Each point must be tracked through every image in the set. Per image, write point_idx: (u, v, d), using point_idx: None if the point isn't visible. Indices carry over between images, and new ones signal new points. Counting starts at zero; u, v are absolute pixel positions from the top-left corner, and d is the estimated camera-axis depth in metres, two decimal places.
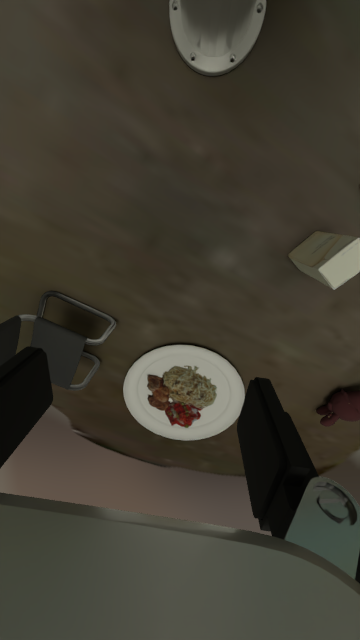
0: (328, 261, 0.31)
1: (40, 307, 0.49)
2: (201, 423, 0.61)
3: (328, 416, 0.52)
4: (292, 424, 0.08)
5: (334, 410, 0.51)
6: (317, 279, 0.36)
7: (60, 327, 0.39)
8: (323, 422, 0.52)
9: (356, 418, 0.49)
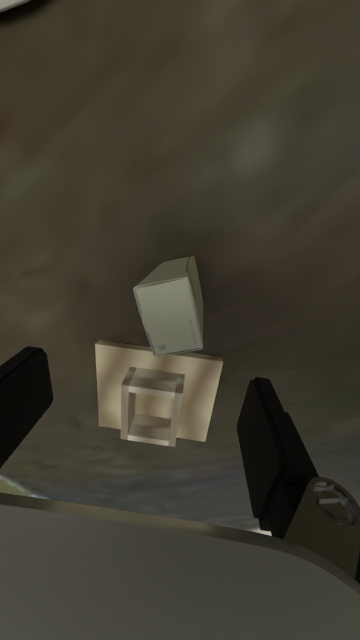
0: (190, 297, 0.17)
1: None
2: None
3: None
4: (292, 424, 0.08)
5: None
6: (151, 274, 0.21)
7: None
8: None
9: None
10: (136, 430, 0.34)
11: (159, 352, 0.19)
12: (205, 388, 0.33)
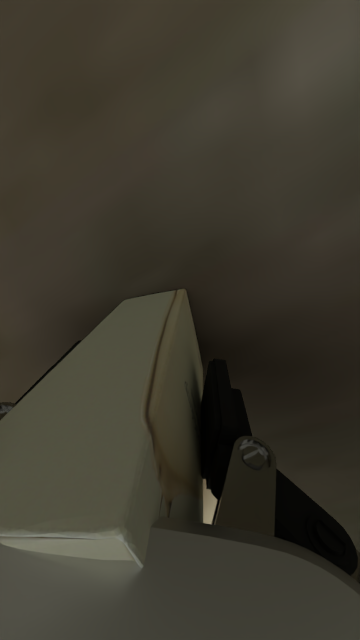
0: None
1: None
2: None
3: None
4: (242, 399, 0.09)
5: None
6: (61, 368, 0.07)
7: None
8: None
9: None
10: None
11: None
12: (206, 497, 0.20)
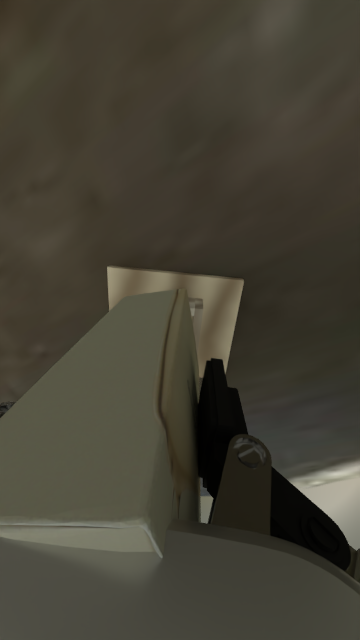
0: None
1: None
2: None
3: None
4: (238, 398, 0.09)
5: None
6: (66, 362, 0.07)
7: None
8: None
9: None
10: None
11: None
12: (224, 314, 0.31)
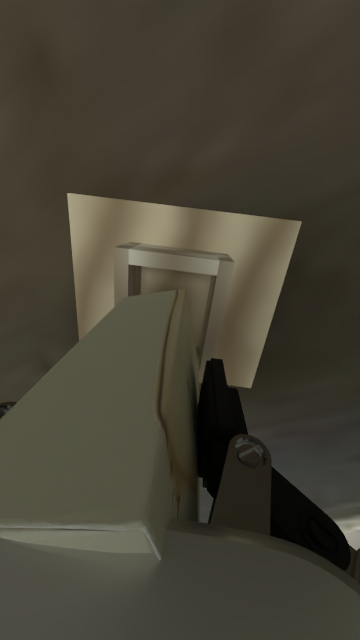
0: None
1: None
2: None
3: None
4: (238, 398, 0.09)
5: None
6: (65, 363, 0.07)
7: None
8: None
9: None
10: None
11: None
12: (262, 283, 0.19)
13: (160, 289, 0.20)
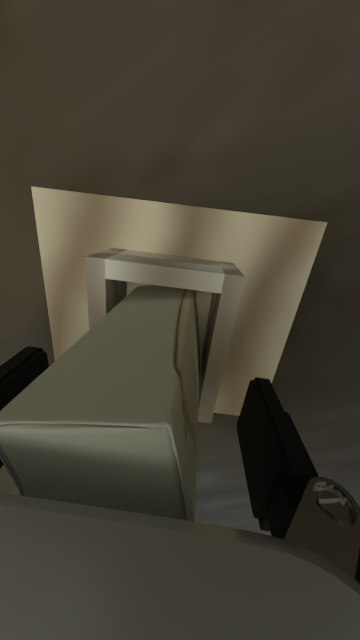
0: (175, 473, 0.05)
1: None
2: None
3: None
4: (292, 424, 0.08)
5: None
6: (94, 333, 0.09)
7: None
8: None
9: None
10: None
11: None
12: (275, 298, 0.16)
13: None
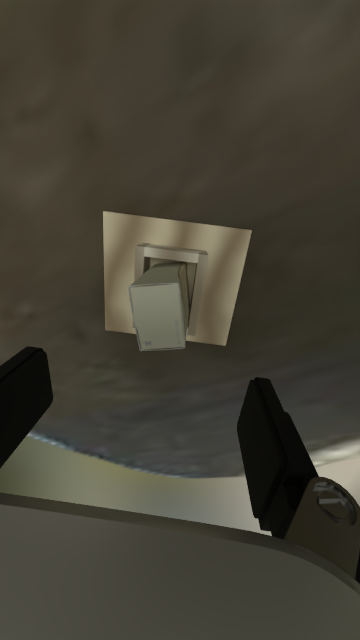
0: (179, 300, 0.19)
1: None
2: None
3: None
4: (292, 424, 0.08)
5: None
6: (145, 274, 0.22)
7: None
8: None
9: None
10: None
11: (145, 347, 0.20)
12: (229, 270, 0.29)
13: None
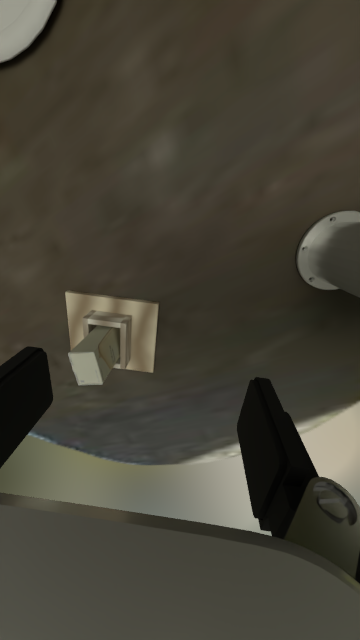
0: (95, 360, 0.35)
1: None
2: None
3: None
4: (292, 424, 0.08)
5: None
6: (84, 339, 0.38)
7: None
8: None
9: None
10: None
11: (81, 383, 0.36)
12: (148, 326, 0.45)
13: None
